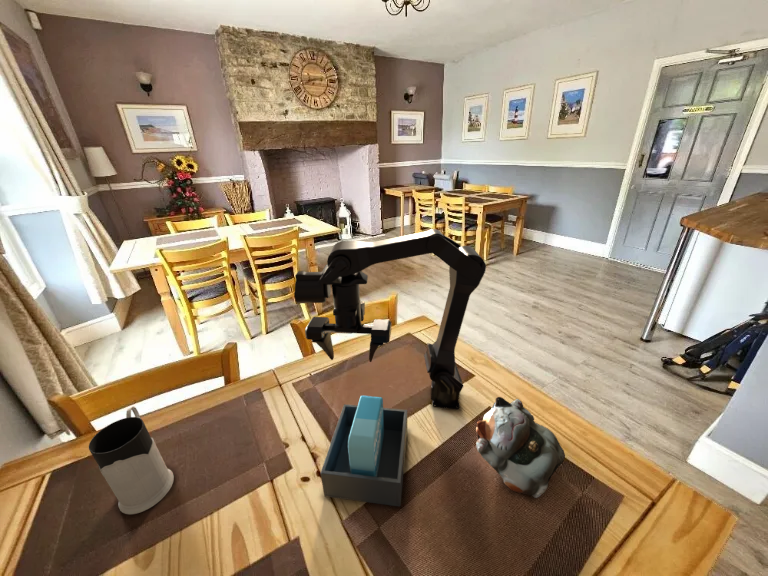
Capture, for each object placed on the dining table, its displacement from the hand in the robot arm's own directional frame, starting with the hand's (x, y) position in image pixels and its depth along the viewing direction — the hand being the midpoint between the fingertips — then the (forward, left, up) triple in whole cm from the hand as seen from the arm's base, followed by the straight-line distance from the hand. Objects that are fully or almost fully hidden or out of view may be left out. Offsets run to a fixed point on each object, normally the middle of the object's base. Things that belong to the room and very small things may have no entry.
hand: (351, 359), depth 73 cm
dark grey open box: (-7, +15, -13) cm, 21 cm away
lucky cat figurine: (-36, +12, -13) cm, 40 cm away
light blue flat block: (-7, +15, -13) cm, 21 cm away
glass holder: (+36, +24, -13) cm, 46 cm away
